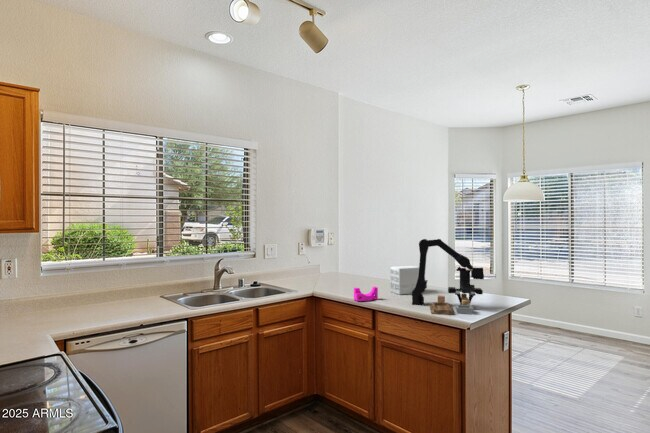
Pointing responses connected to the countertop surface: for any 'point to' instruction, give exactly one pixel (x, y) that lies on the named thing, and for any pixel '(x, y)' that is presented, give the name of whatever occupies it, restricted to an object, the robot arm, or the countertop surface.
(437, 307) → the jig
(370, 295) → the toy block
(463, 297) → the fuselage
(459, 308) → the tail socket
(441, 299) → the tail block
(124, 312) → the countertop surface
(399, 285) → the white drawer cabinet
